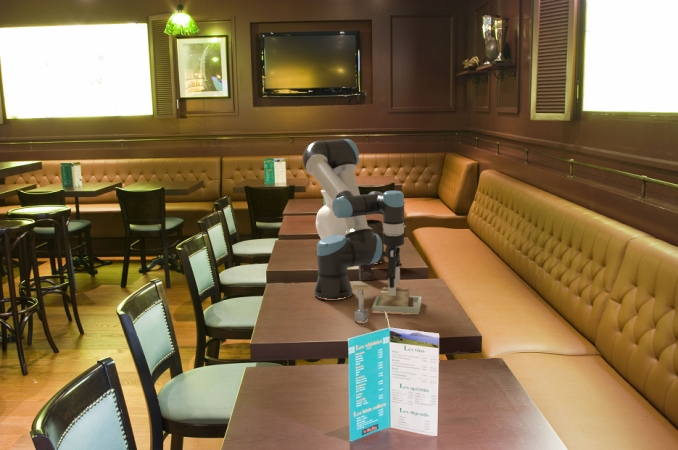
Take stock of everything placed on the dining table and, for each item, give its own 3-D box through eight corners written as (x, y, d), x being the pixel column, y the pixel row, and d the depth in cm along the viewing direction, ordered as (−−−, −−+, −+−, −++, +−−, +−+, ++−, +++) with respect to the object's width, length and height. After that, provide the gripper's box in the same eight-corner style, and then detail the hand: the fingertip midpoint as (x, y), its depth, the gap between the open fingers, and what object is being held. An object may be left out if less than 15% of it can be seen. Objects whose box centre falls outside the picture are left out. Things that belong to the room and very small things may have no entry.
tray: (372, 313, 233) (372, 306, 233) (377, 301, 246) (377, 295, 245) (419, 314, 230) (418, 308, 229) (421, 303, 242) (421, 296, 242)
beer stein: (356, 264, 299) (358, 222, 294) (364, 258, 308) (365, 217, 304) (388, 268, 293) (389, 226, 288) (394, 262, 303) (396, 221, 298)
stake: (352, 323, 224) (351, 287, 221) (355, 318, 228) (353, 283, 226) (368, 324, 223) (367, 288, 220) (370, 319, 227) (369, 284, 225)
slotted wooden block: (380, 307, 236) (380, 292, 235) (383, 302, 242) (382, 287, 241) (412, 308, 233) (412, 293, 232) (413, 303, 240) (413, 287, 238)
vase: (335, 239, 349) (333, 184, 343) (363, 245, 334) (361, 188, 327) (309, 245, 337) (307, 189, 331) (337, 252, 321) (334, 193, 315)
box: (361, 281, 272) (360, 254, 269) (358, 278, 276) (357, 251, 274) (375, 280, 273) (374, 252, 271) (372, 277, 278) (371, 250, 275)
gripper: (400, 242, 219) (400, 301, 224) (407, 225, 243) (407, 278, 248) (378, 242, 221) (379, 300, 226) (387, 225, 245) (388, 278, 250)
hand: (394, 289), depth 237 cm, fingers open, 13 cm apart
